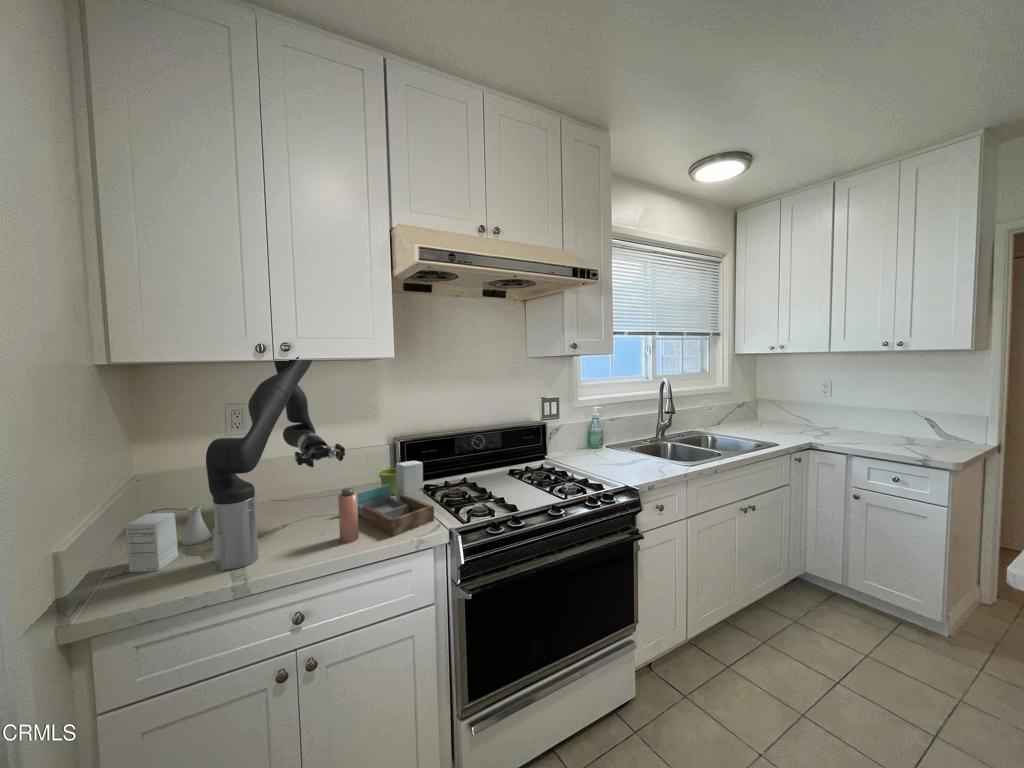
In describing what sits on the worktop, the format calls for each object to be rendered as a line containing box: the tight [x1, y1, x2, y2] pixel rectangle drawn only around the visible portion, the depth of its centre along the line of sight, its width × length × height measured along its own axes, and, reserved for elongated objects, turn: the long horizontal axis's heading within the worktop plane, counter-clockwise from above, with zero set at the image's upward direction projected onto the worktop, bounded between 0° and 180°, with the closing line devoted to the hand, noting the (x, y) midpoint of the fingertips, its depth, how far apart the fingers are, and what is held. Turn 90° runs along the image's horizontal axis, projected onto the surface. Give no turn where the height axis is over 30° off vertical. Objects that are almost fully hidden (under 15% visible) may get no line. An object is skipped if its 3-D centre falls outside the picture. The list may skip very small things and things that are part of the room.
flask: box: [179, 505, 213, 546], centre depth 124 cm, size 7×7×10 cm
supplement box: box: [124, 512, 179, 573], centre depth 110 cm, size 7×7×13 cm
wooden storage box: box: [362, 495, 435, 537], centre depth 137 cm, size 15×17×5 cm
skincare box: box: [395, 460, 424, 502], centre depth 155 cm, size 8×6×15 cm
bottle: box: [337, 487, 360, 544], centre depth 124 cm, size 5×5×15 cm
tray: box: [356, 484, 409, 518], centre depth 144 cm, size 16×15×6 cm
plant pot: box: [377, 467, 397, 496], centre depth 165 cm, size 9×9×9 cm
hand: (327, 461), depth 131 cm, fingers open, 8 cm apart
